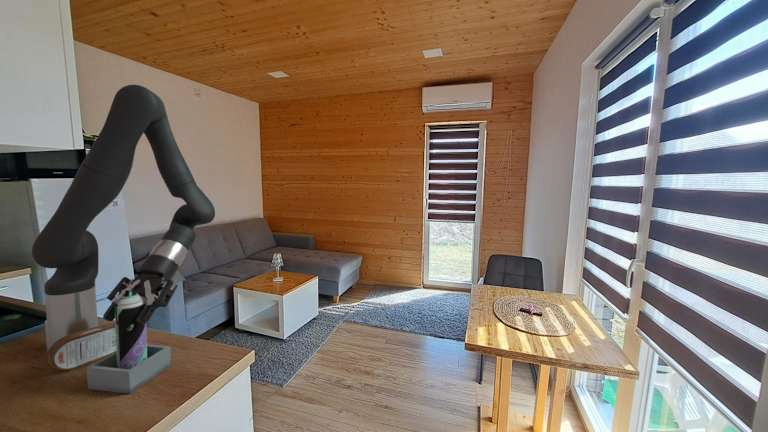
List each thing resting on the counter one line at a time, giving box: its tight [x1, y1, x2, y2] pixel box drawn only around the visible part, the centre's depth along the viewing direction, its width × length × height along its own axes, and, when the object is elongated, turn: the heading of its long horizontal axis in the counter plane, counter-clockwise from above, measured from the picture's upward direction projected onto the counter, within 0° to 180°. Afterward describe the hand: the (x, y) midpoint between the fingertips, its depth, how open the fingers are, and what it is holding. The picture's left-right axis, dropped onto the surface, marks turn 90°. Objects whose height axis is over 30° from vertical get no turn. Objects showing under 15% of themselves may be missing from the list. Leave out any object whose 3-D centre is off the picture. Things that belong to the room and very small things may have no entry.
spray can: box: [114, 289, 148, 370], centre depth 69 cm, size 6×6×20 cm
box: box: [86, 343, 172, 395], centre depth 70 cm, size 11×11×5 cm
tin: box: [45, 322, 117, 371], centre depth 75 cm, size 15×3×8 cm, turn 152°
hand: (123, 321), depth 67 cm, fingers open, 8 cm apart
